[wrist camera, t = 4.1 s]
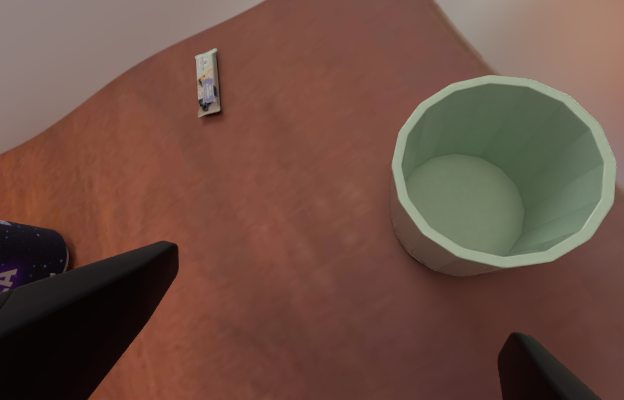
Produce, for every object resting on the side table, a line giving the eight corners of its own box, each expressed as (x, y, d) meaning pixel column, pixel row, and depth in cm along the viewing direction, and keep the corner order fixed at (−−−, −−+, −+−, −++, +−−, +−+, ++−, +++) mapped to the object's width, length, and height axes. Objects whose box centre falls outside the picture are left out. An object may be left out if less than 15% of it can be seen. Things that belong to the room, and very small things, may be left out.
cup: (481, 304, 21) (543, 313, 13) (366, 225, 24) (355, 190, 16) (554, 194, 22) (659, 133, 14) (435, 130, 25) (460, 47, 17)
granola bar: (192, 49, 31) (221, 42, 30) (200, 57, 32) (227, 51, 31) (184, 115, 29) (215, 109, 28) (192, 121, 30) (222, 116, 29)
